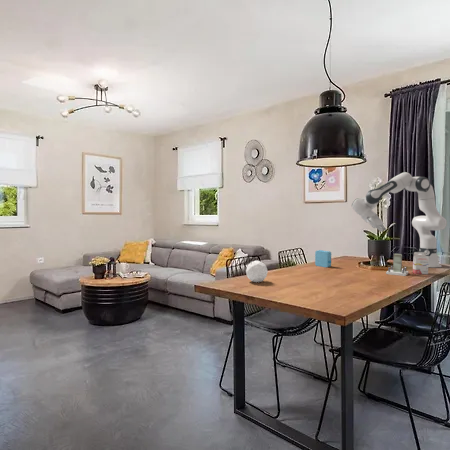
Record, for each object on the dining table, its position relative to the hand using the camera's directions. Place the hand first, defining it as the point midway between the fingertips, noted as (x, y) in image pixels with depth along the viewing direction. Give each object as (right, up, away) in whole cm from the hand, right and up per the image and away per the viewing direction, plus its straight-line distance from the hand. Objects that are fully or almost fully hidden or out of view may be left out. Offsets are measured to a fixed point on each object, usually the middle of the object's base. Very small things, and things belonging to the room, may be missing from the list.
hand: (384, 230), depth 263 cm
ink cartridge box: (+22, -30, -7) cm, 38 cm away
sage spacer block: (+6, -28, -8) cm, 30 cm away
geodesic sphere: (-94, -31, -34) cm, 105 cm away
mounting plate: (+6, -30, -8) cm, 31 cm away
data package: (-37, -28, +23) cm, 52 cm away
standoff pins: (+6, -28, -8) cm, 30 cm away
